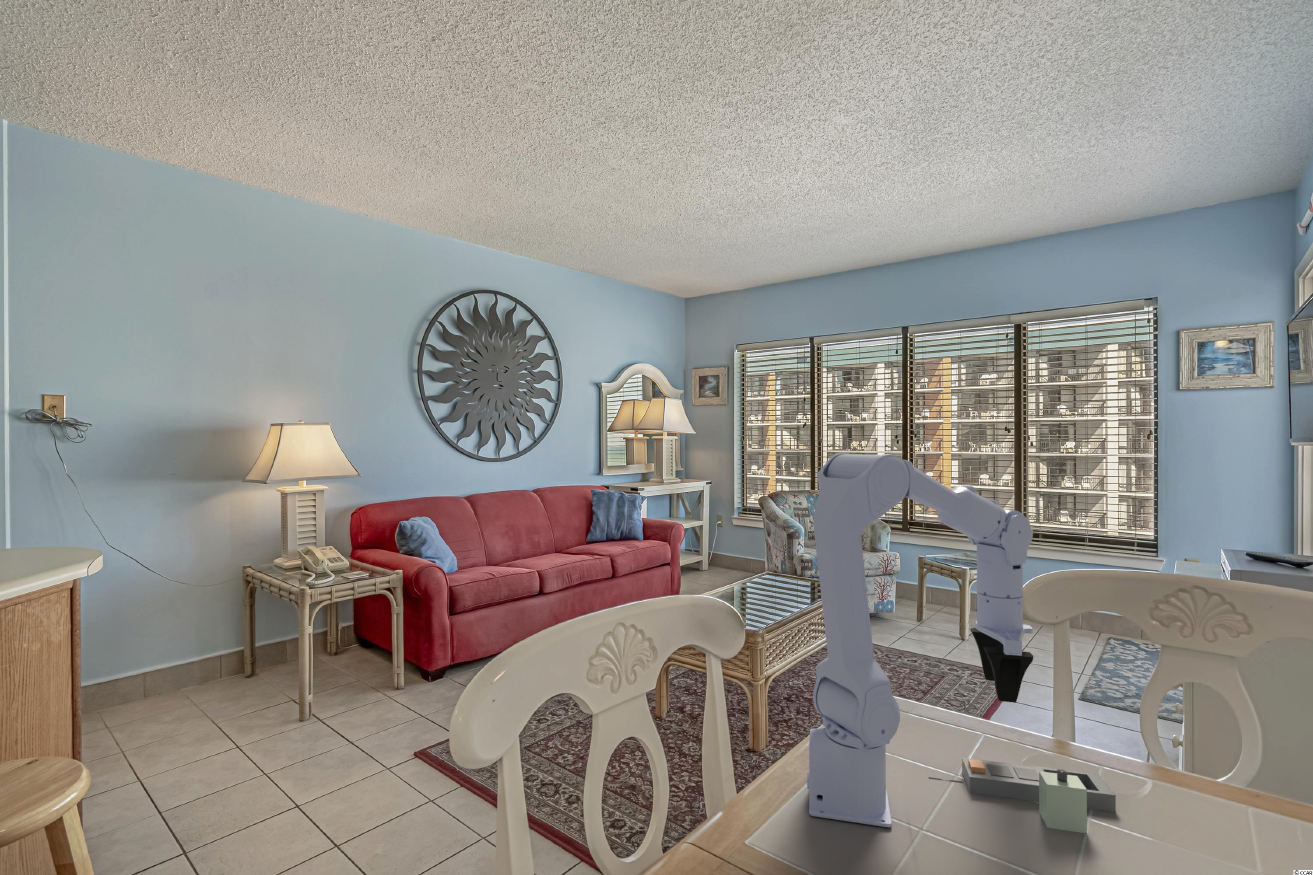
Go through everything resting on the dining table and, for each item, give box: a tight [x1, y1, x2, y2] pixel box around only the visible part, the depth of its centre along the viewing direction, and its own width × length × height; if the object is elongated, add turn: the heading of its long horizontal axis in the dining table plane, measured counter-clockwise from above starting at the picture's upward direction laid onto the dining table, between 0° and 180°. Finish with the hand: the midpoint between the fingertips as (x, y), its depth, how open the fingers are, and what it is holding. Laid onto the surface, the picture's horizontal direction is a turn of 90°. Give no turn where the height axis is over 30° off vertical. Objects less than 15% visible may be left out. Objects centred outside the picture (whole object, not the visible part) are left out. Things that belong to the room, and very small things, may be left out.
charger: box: [1038, 768, 1088, 834], centre depth 74 cm, size 4×3×7 cm
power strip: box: [928, 757, 1117, 813], centre depth 82 cm, size 20×5×4 cm, turn 74°
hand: (1000, 690), depth 90 cm, fingers open, 7 cm apart
